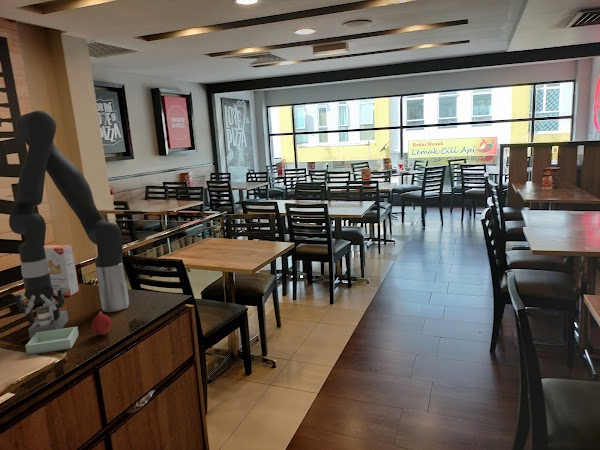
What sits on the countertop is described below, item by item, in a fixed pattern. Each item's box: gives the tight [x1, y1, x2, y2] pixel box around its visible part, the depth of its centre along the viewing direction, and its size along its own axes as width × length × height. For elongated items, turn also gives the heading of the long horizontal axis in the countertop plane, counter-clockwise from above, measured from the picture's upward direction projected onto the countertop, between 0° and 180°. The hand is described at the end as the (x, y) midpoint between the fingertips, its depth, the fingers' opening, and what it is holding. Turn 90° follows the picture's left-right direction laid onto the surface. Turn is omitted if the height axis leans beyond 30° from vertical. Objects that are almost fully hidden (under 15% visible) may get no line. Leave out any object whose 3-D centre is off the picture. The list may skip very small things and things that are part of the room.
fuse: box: [42, 303, 54, 318], centre depth 152 cm, size 4×4×9 cm
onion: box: [91, 311, 113, 336], centre depth 141 cm, size 6×6×8 cm
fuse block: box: [28, 310, 69, 341], centre depth 149 cm, size 8×14×4 cm, turn 14°
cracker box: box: [44, 244, 80, 297], centre depth 184 cm, size 14×6×21 cm, turn 81°
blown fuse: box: [35, 305, 52, 327], centre depth 145 cm, size 4×4×9 cm
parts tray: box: [25, 326, 80, 356], centre depth 137 cm, size 12×10×3 cm
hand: (44, 321), depth 145 cm, fingers open, 6 cm apart
